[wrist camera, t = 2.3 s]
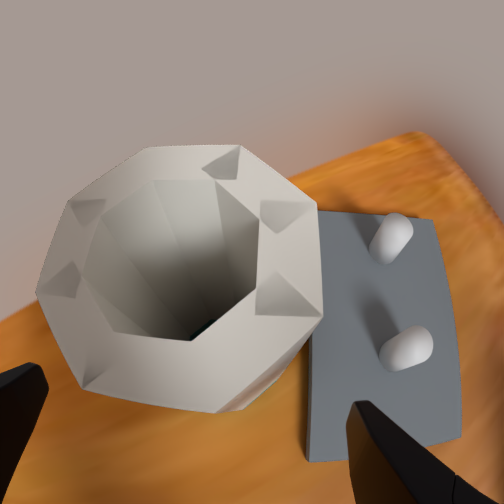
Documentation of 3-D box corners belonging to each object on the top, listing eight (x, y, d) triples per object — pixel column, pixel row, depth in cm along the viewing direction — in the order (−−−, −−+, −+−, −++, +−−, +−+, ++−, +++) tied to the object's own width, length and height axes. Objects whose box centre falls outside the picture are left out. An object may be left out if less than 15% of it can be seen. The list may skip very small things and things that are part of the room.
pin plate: (451, 437, 14) (490, 436, 10) (305, 459, 14) (320, 473, 11) (425, 228, 22) (449, 195, 18) (305, 219, 22) (314, 181, 18)
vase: (297, 361, 17) (380, 256, 6) (220, 428, 15) (137, 469, 4) (230, 291, 19) (200, 117, 8) (156, 351, 17) (18, 241, 6)
